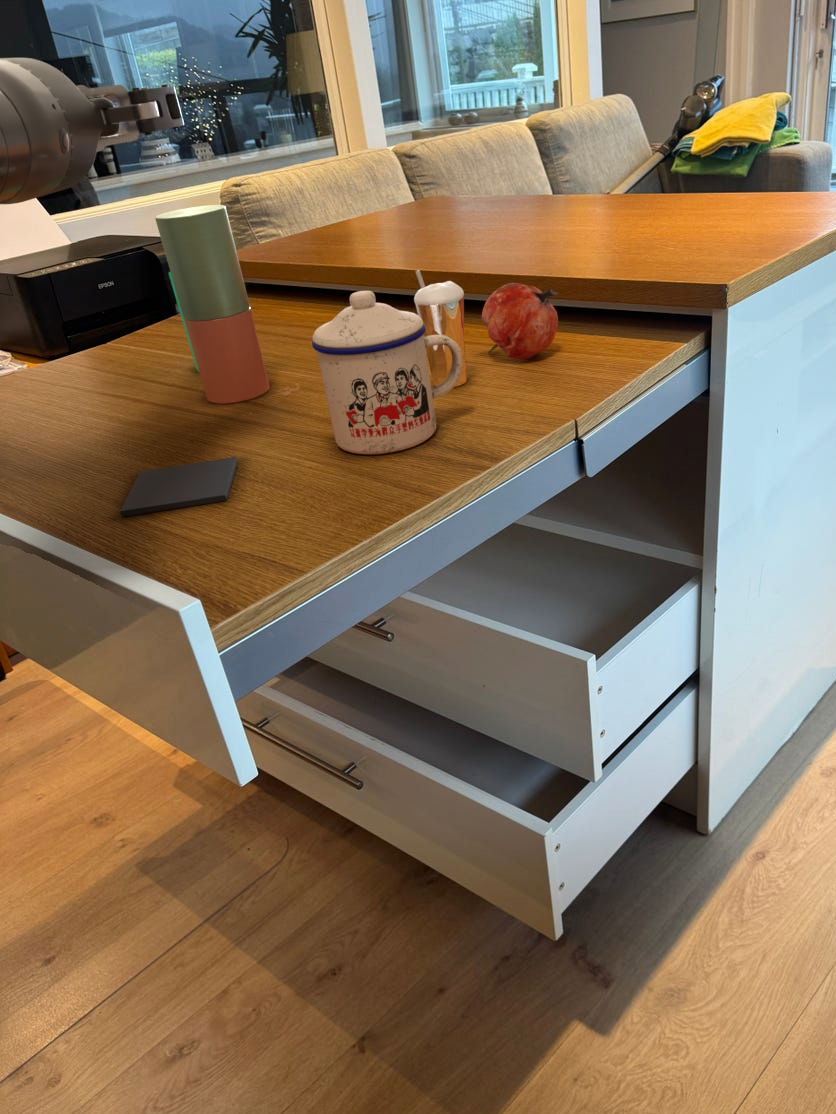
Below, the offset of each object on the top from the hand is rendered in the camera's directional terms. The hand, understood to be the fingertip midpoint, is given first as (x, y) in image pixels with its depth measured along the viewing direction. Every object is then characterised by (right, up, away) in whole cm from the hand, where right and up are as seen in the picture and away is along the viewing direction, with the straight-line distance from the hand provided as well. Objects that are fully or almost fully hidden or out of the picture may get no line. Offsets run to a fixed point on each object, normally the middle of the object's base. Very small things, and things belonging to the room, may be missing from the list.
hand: (111, 114), depth 68 cm
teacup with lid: (+22, -23, +8) cm, 32 cm away
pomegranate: (+32, -11, +23) cm, 41 cm away
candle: (-1, -9, +33) cm, 34 cm away
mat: (+4, -28, +3) cm, 29 cm away
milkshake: (+25, -15, +18) cm, 35 cm away
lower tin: (+4, -15, +23) cm, 28 cm away
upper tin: (+3, -8, +19) cm, 21 cm away
